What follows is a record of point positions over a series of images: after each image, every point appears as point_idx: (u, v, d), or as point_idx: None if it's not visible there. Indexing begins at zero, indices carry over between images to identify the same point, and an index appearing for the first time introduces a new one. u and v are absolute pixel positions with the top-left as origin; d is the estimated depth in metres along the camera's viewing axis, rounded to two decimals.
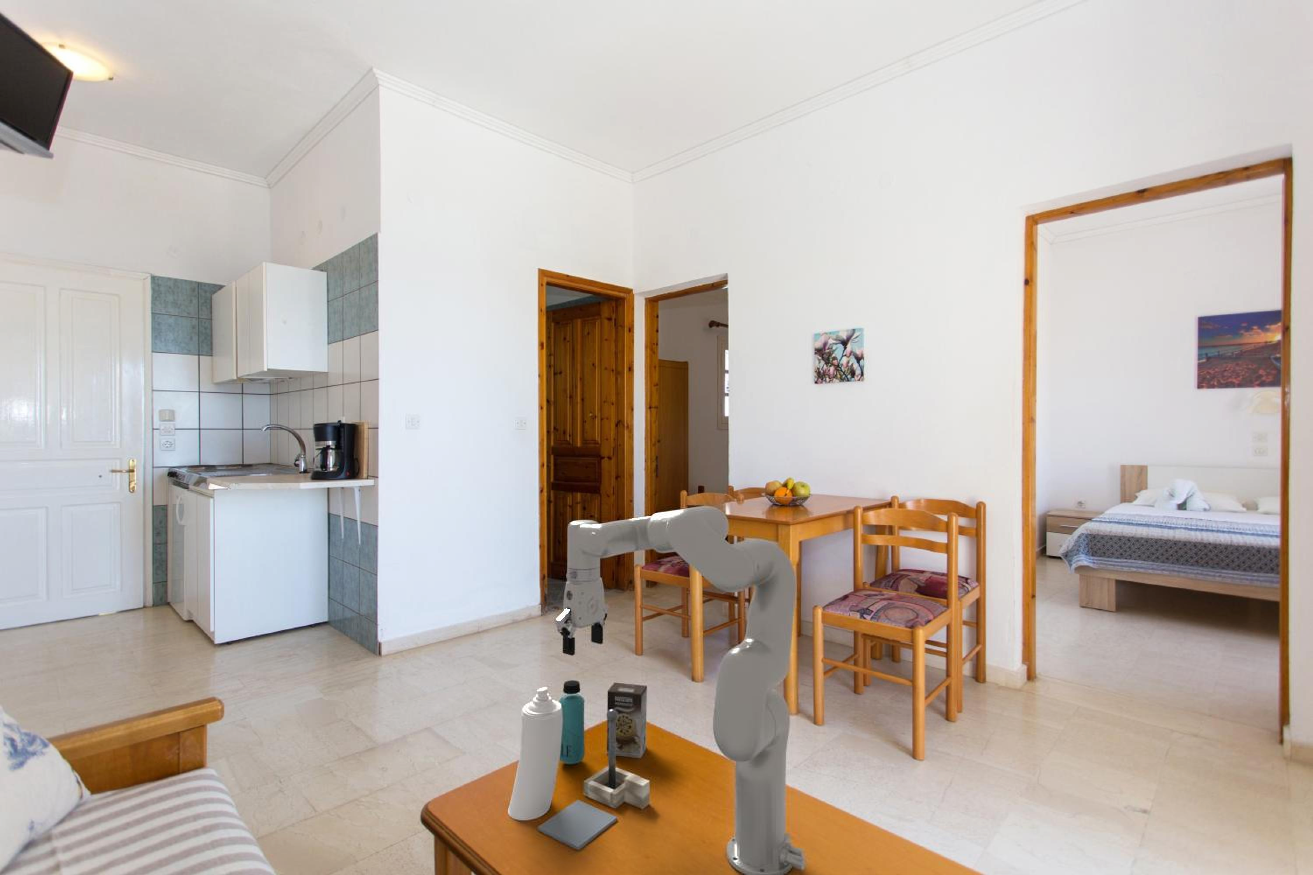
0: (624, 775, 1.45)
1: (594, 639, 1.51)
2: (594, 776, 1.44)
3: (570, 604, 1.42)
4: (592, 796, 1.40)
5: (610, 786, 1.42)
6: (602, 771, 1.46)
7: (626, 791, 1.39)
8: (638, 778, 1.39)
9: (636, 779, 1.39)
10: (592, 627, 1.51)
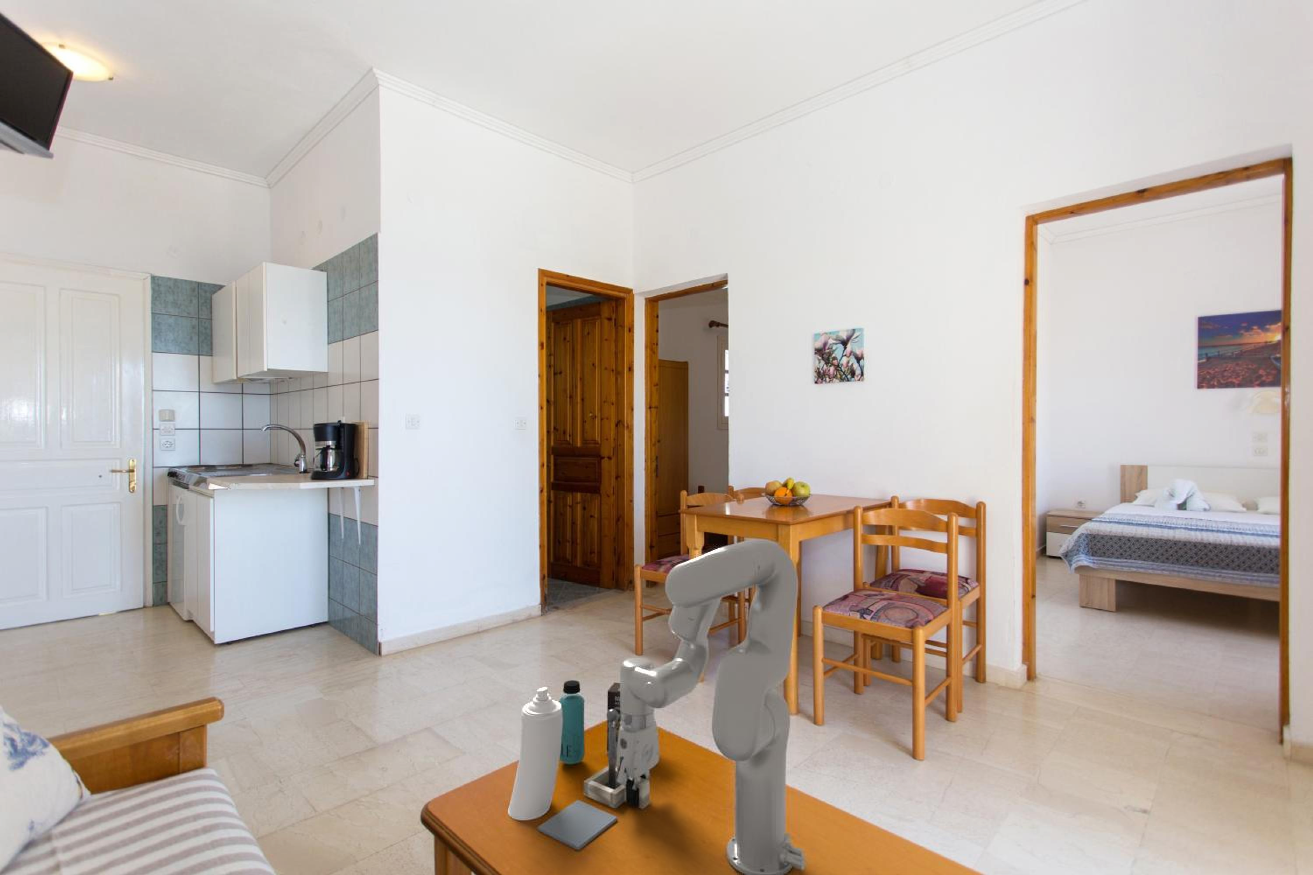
0: None
1: None
2: (594, 776, 1.44)
3: (625, 753, 1.34)
4: (592, 796, 1.40)
5: (610, 786, 1.42)
6: (602, 771, 1.46)
7: None
8: (638, 778, 1.39)
9: None
10: None
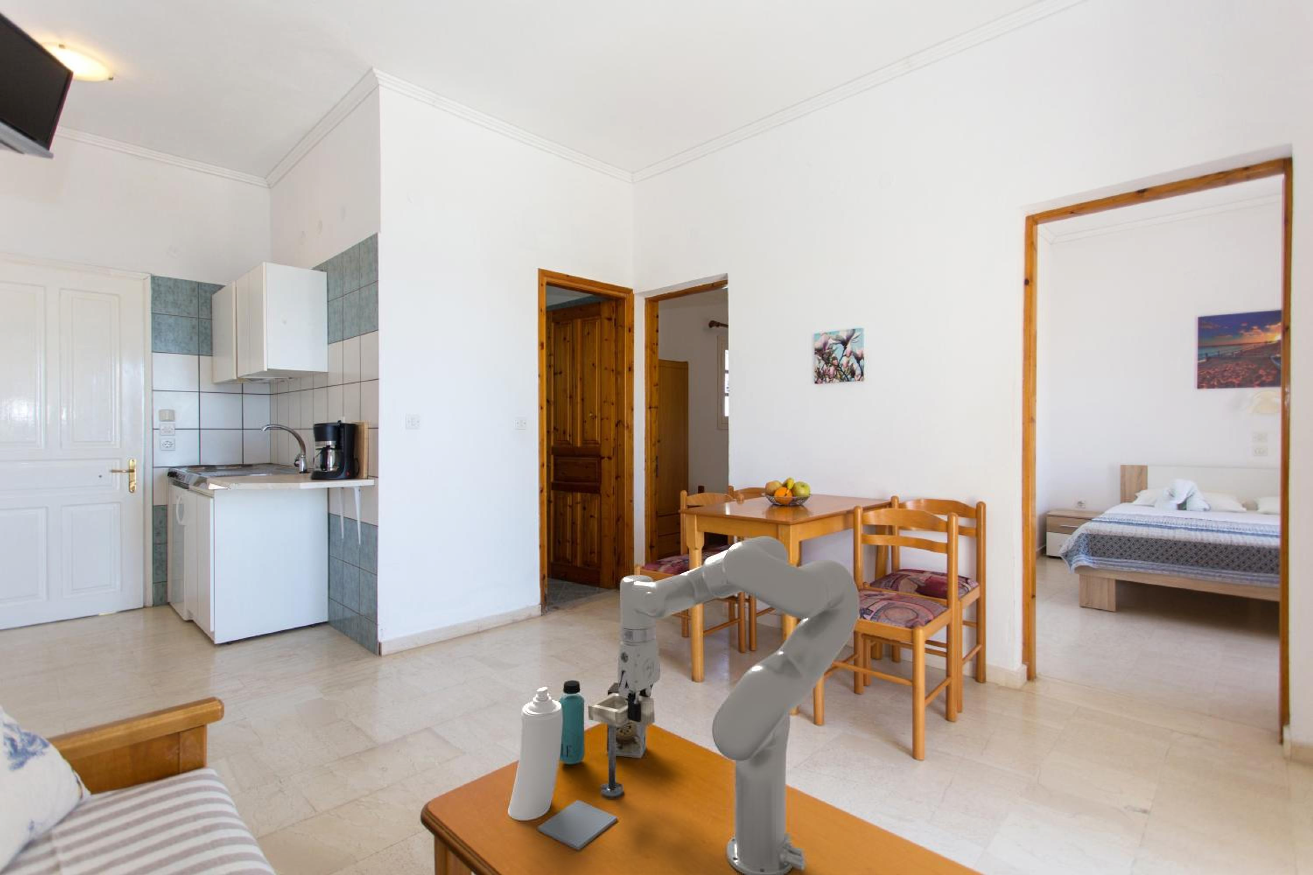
0: None
1: None
2: (598, 701, 1.43)
3: (626, 667, 1.34)
4: (597, 719, 1.39)
5: (610, 786, 1.42)
6: (606, 697, 1.45)
7: None
8: (642, 697, 1.39)
9: (640, 698, 1.38)
10: None
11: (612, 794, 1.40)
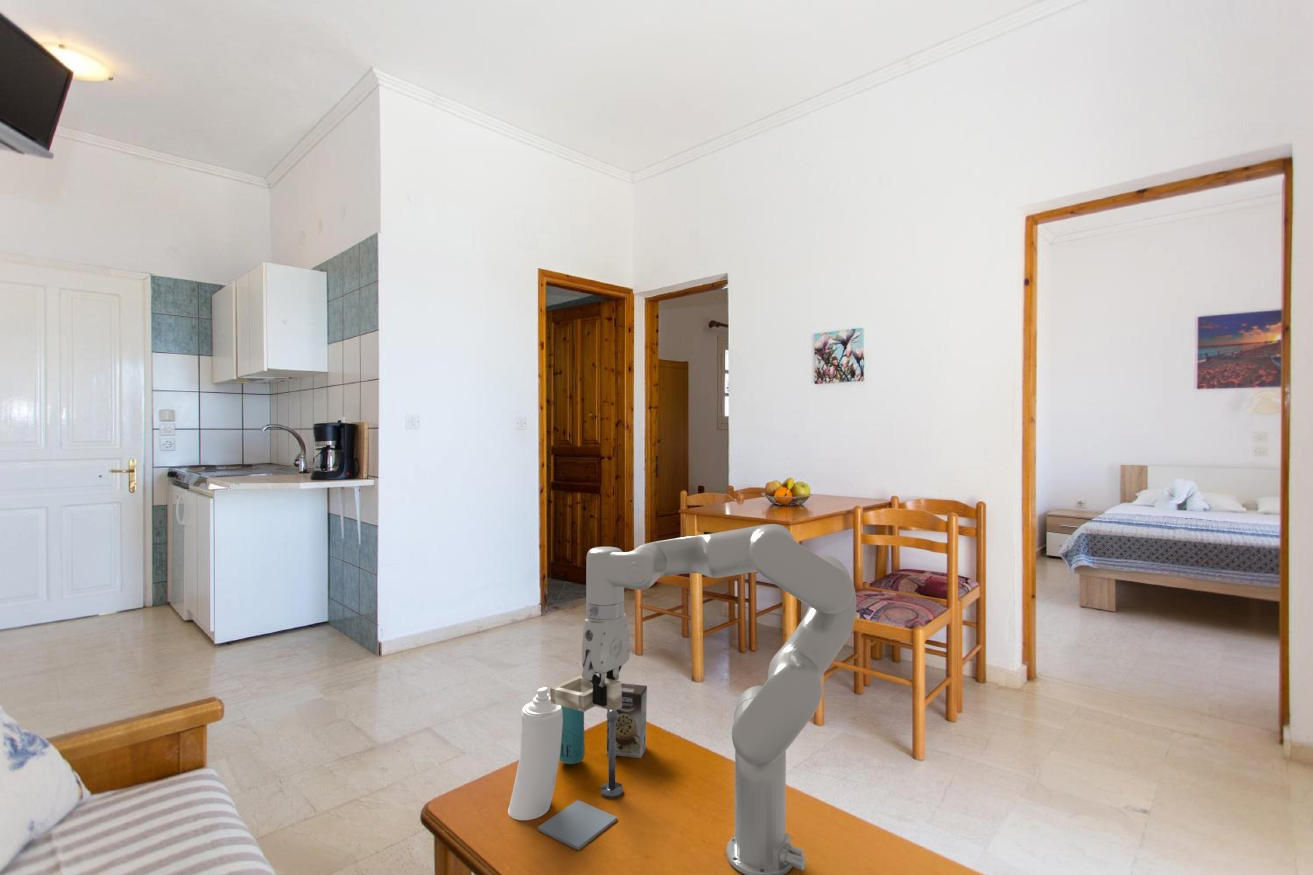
0: None
1: None
2: (562, 684, 1.31)
3: (590, 646, 1.22)
4: (560, 703, 1.28)
5: (610, 786, 1.42)
6: (571, 680, 1.34)
7: None
8: (608, 680, 1.27)
9: (607, 681, 1.26)
10: None
11: (612, 794, 1.40)
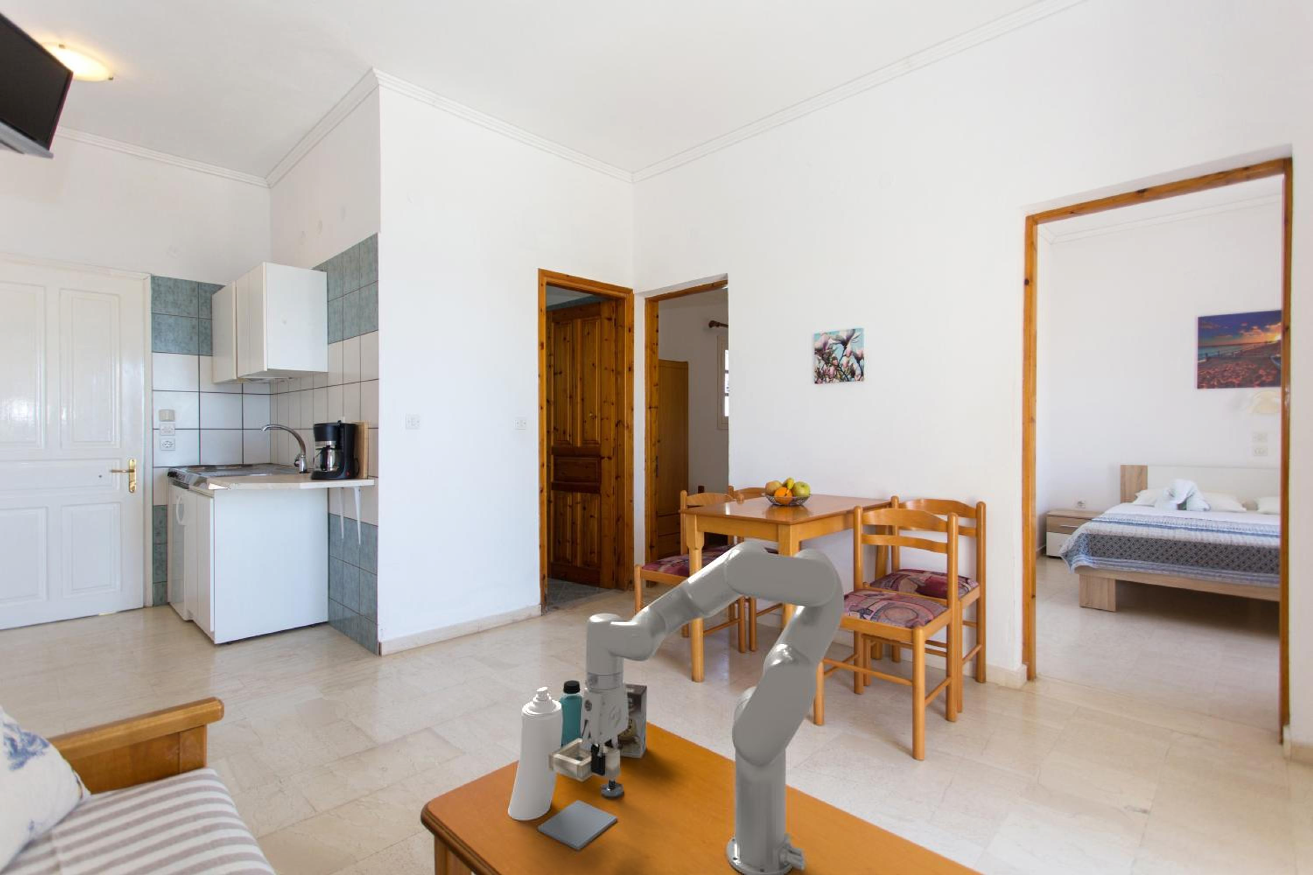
0: None
1: None
2: (561, 749, 1.31)
3: (589, 716, 1.22)
4: (558, 770, 1.28)
5: (610, 786, 1.42)
6: (570, 744, 1.33)
7: None
8: (607, 748, 1.27)
9: (605, 749, 1.26)
10: None
11: (612, 794, 1.40)
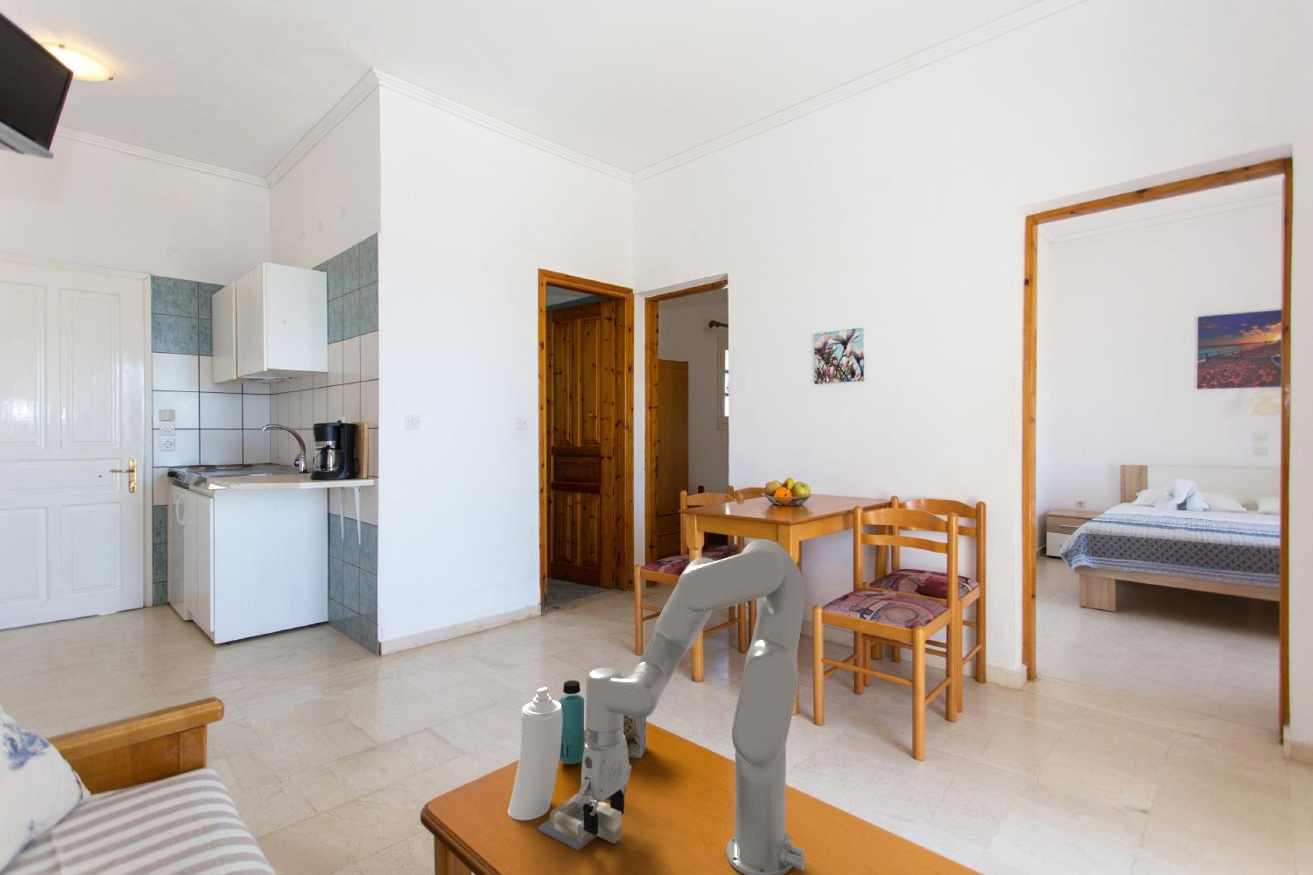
0: None
1: (614, 808, 1.30)
2: (562, 806, 1.31)
3: (590, 774, 1.22)
4: (559, 828, 1.27)
5: None
6: (571, 800, 1.33)
7: None
8: (609, 809, 1.26)
9: (607, 810, 1.26)
10: None
11: None
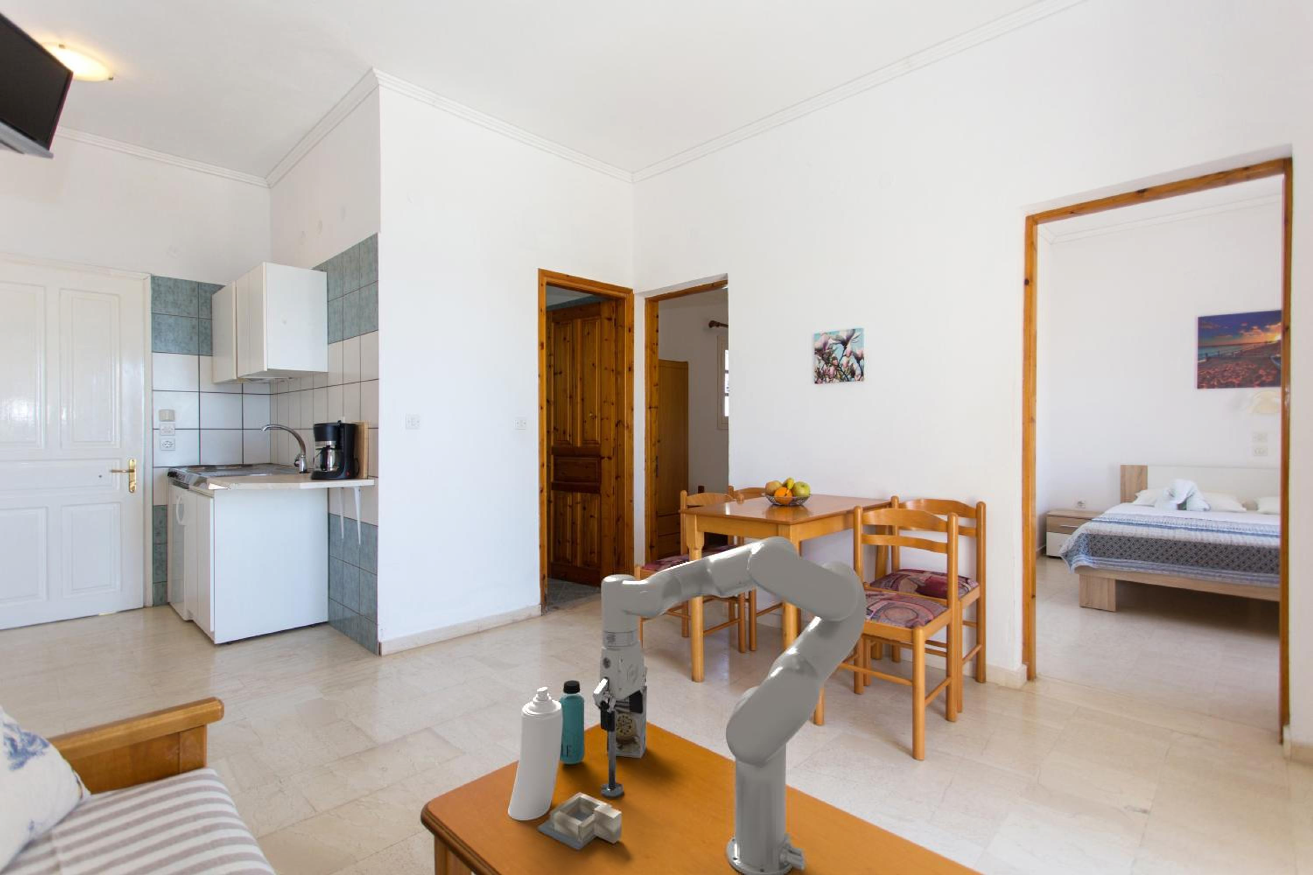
0: (595, 804, 1.32)
1: (633, 708, 1.34)
2: (562, 806, 1.31)
3: (608, 673, 1.25)
4: (559, 828, 1.27)
5: (610, 786, 1.42)
6: (571, 800, 1.33)
7: (596, 823, 1.26)
8: (609, 809, 1.26)
9: (607, 810, 1.26)
10: (630, 694, 1.34)
11: (612, 794, 1.40)
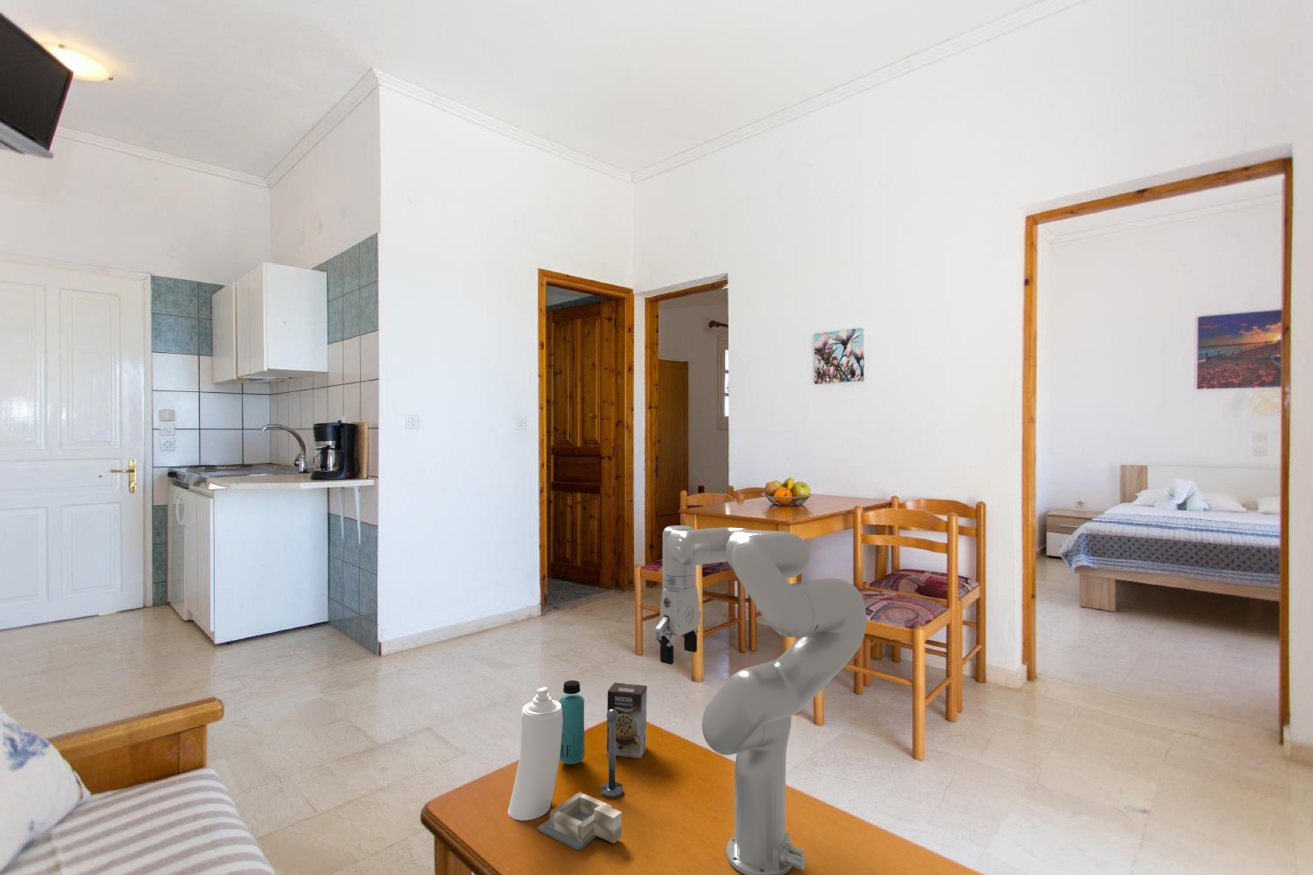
0: (595, 804, 1.32)
1: (687, 647, 1.47)
2: (562, 806, 1.31)
3: (668, 612, 1.39)
4: (559, 828, 1.27)
5: (610, 786, 1.42)
6: (571, 800, 1.33)
7: (596, 823, 1.26)
8: (609, 809, 1.26)
9: (607, 810, 1.26)
10: (685, 635, 1.48)
11: (612, 794, 1.40)
